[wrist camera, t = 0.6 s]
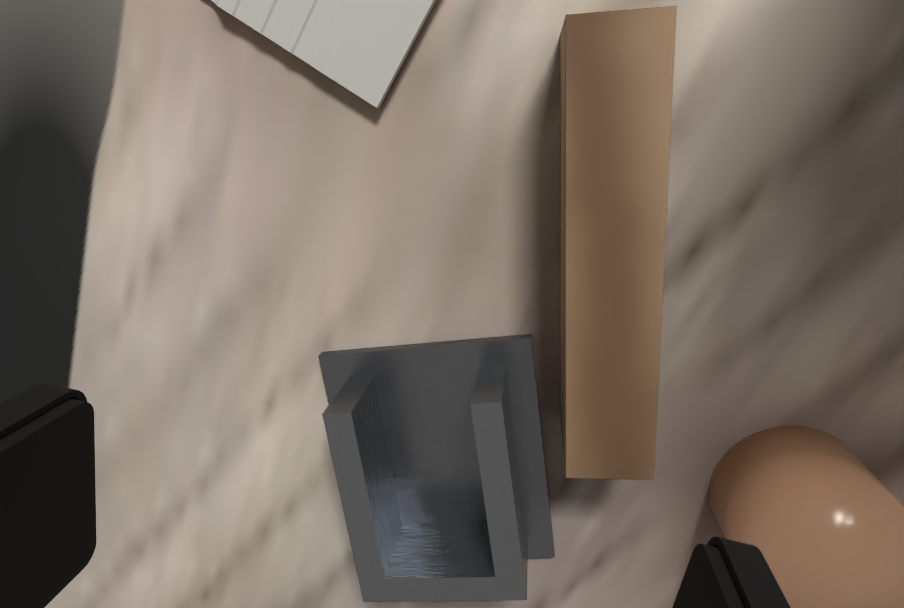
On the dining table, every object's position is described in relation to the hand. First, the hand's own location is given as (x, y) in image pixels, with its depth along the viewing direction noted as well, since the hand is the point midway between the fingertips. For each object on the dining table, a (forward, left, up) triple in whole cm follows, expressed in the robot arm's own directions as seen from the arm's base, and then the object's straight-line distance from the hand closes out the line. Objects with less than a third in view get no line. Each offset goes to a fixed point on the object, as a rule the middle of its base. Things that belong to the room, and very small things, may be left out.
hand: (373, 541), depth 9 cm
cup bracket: (+4, +12, -23) cm, 27 cm away
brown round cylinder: (-15, +16, -24) cm, 32 cm away
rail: (-6, +1, -24) cm, 24 cm away
